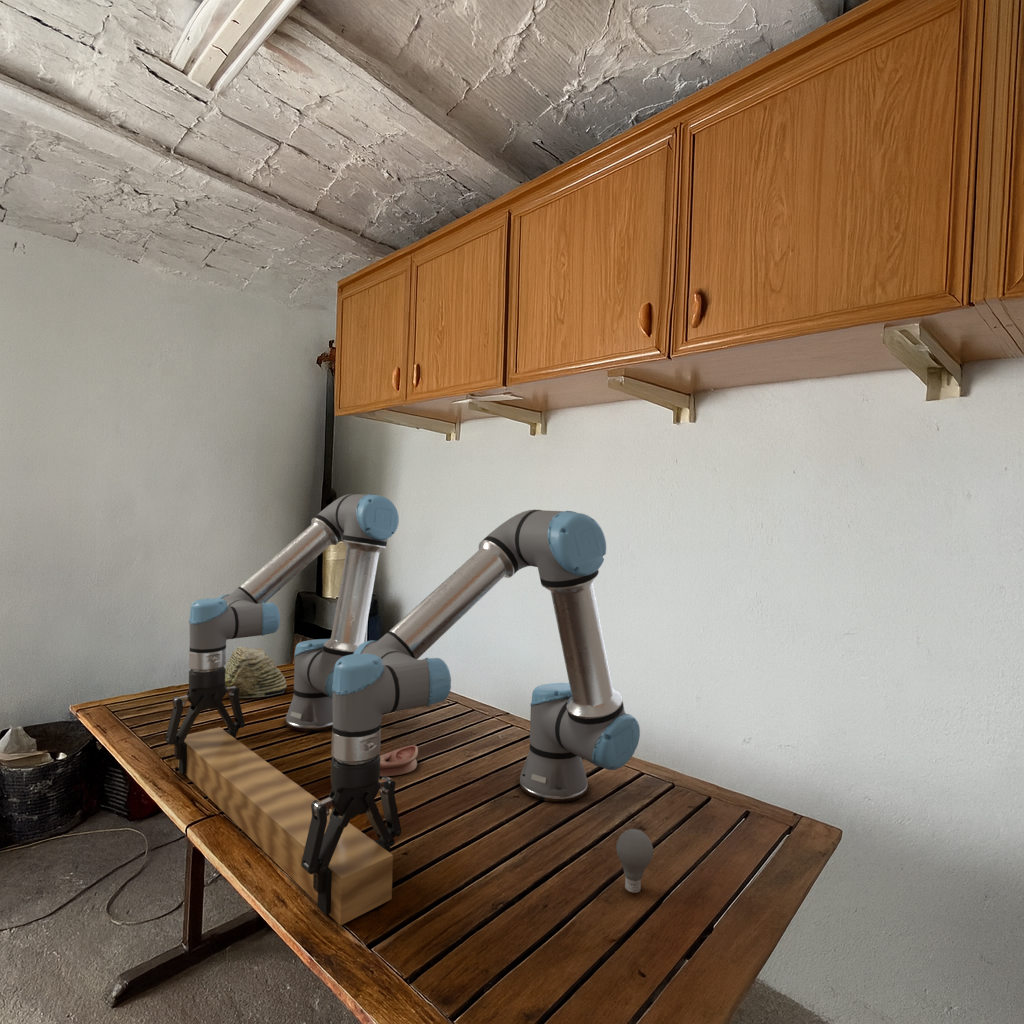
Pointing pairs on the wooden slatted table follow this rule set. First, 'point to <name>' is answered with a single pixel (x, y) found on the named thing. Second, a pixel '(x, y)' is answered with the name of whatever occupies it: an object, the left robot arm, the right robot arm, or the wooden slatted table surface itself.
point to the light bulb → (634, 857)
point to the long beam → (286, 822)
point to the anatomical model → (398, 761)
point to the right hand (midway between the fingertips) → (352, 896)
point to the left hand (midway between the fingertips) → (205, 765)
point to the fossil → (254, 673)
